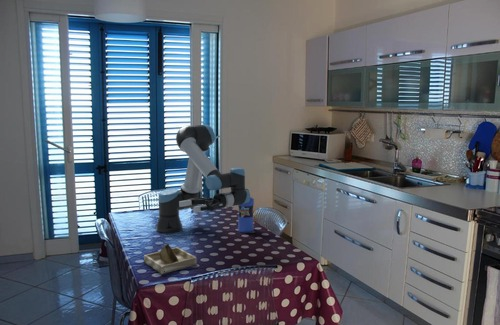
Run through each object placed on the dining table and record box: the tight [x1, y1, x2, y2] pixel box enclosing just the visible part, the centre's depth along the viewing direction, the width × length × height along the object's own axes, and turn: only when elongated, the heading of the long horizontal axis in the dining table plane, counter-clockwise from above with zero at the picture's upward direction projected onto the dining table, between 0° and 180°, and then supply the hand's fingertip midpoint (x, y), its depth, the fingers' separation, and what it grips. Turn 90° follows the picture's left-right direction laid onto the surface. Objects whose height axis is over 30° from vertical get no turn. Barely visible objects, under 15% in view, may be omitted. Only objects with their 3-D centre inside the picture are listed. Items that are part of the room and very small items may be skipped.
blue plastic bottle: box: [237, 188, 255, 234], centre depth 248 cm, size 9×9×25 cm
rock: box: [160, 243, 178, 264], centre depth 199 cm, size 11×9×10 cm
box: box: [143, 246, 198, 275], centre depth 199 cm, size 18×18×4 cm
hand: (186, 207), depth 201 cm, fingers open, 13 cm apart
